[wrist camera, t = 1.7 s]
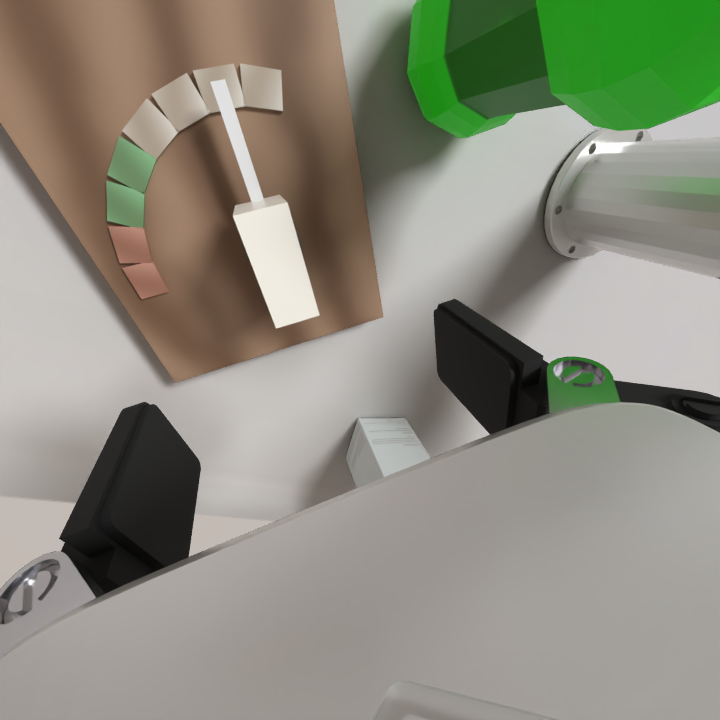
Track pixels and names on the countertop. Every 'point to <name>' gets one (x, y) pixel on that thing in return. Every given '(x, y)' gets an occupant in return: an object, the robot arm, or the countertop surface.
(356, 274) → the tuner board
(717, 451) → the robot arm
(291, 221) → the white piece
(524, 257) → the countertop surface
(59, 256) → the countertop surface
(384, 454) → the supplement box
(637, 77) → the plastic bottle
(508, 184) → the countertop surface
